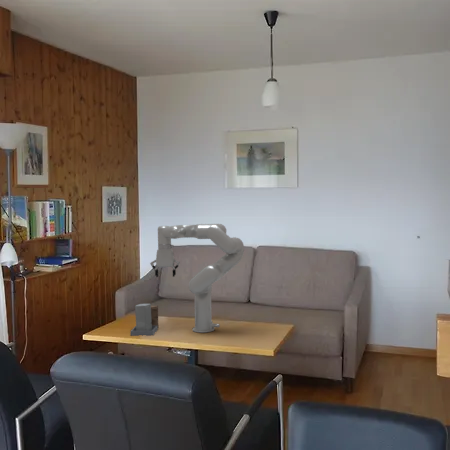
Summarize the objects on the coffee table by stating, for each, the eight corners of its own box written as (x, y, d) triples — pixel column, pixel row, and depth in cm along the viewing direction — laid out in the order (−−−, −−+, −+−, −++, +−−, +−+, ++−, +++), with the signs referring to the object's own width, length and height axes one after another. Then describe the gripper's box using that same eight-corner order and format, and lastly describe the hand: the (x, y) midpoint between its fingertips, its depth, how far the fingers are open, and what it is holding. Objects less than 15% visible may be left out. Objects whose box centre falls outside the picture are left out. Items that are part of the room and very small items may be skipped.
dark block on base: (158, 328, 318) (157, 305, 318) (157, 329, 314) (156, 307, 313) (138, 328, 319) (137, 305, 318) (136, 330, 314) (135, 307, 314)
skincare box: (146, 334, 302) (146, 305, 302) (134, 333, 304) (134, 305, 304) (152, 330, 310) (152, 303, 310) (141, 330, 312) (140, 302, 312)
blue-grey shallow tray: (157, 329, 314) (157, 325, 314) (153, 335, 300) (153, 331, 300) (136, 329, 315) (135, 325, 315) (130, 335, 301) (130, 331, 301)
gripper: (180, 246, 319) (181, 275, 320) (151, 247, 320) (152, 276, 321) (178, 247, 312) (179, 277, 312) (148, 248, 312) (149, 277, 313)
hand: (165, 276), depth 316 cm, fingers open, 9 cm apart
